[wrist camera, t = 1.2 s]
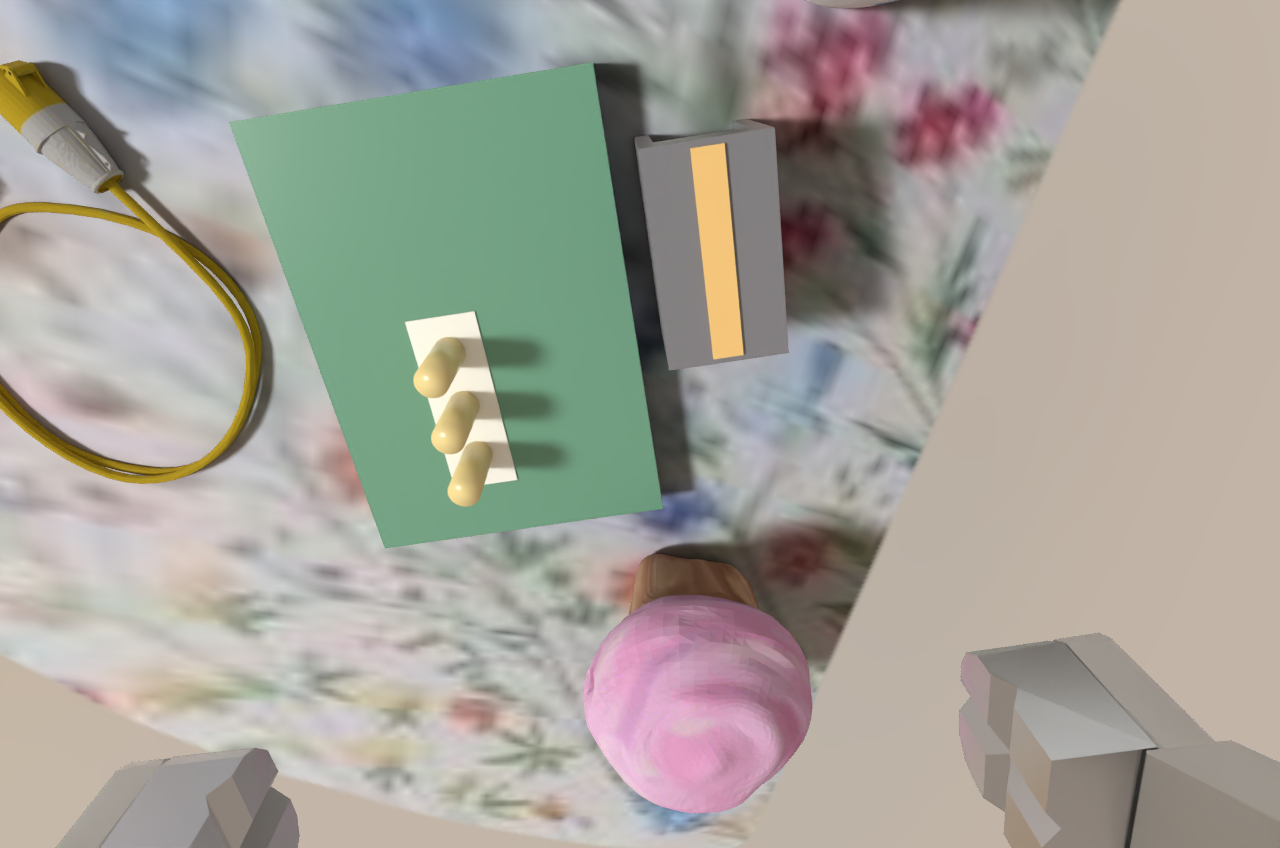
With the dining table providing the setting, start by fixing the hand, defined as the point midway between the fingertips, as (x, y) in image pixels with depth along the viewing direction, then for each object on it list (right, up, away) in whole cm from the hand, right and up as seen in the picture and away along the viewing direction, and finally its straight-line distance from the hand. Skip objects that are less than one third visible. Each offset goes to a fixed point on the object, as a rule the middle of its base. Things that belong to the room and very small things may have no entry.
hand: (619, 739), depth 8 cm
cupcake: (+2, -4, +26) cm, 26 cm away
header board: (-6, +7, +20) cm, 22 cm away
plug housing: (+3, +11, +18) cm, 22 cm away
